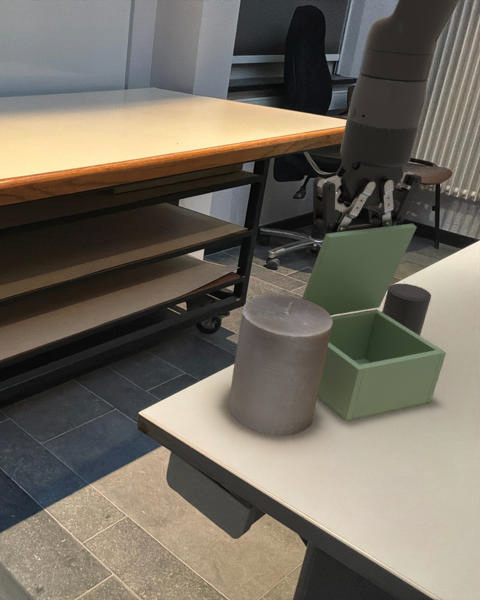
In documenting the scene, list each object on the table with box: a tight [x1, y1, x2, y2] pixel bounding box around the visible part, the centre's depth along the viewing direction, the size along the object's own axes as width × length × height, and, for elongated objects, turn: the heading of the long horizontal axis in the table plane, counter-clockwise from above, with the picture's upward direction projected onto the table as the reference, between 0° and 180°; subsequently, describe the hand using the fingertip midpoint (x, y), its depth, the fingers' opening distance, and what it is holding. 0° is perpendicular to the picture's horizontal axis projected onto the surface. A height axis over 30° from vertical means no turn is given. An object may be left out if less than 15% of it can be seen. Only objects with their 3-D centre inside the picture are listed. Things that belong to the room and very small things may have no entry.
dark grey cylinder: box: [381, 283, 432, 336], centre depth 94 cm, size 5×5×8 cm
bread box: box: [317, 308, 447, 422], centre depth 84 cm, size 12×13×8 cm
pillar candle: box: [227, 294, 333, 436], centre depth 77 cm, size 10×10×15 cm
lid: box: [301, 223, 417, 316], centre depth 84 cm, size 12×13×4 cm
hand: (350, 256), depth 83 cm, fingers closed on lid, 5 cm apart
